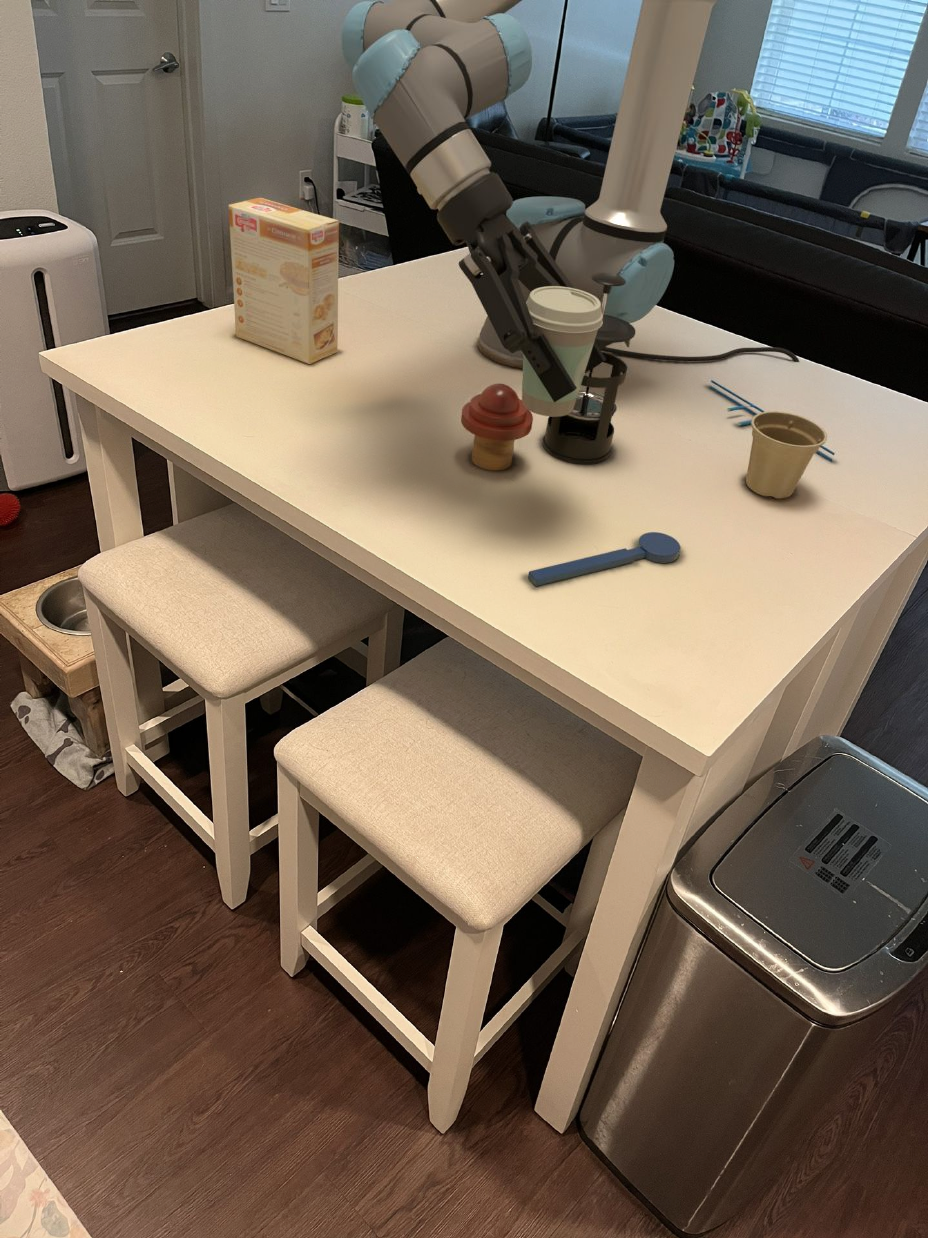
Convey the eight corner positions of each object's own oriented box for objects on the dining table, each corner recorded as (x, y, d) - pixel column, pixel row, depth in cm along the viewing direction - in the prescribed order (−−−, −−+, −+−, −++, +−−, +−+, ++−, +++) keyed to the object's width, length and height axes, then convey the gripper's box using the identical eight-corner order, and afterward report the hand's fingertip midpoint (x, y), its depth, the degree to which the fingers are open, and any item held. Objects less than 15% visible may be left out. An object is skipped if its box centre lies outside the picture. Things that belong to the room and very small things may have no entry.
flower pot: (793, 514, 117) (816, 453, 111) (722, 489, 120) (741, 428, 115) (813, 485, 123) (835, 427, 118) (745, 462, 127) (764, 404, 121)
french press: (628, 459, 124) (668, 287, 110) (572, 472, 120) (605, 295, 105) (576, 420, 131) (607, 255, 117) (522, 431, 127) (547, 261, 113)
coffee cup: (581, 428, 99) (602, 319, 92) (503, 414, 100) (518, 305, 93) (589, 396, 106) (609, 292, 99) (516, 382, 107) (531, 278, 99)
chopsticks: (810, 457, 126) (835, 452, 128) (687, 382, 142) (712, 379, 144) (806, 467, 127) (831, 461, 129) (685, 391, 143) (709, 387, 145)
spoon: (661, 536, 110) (663, 528, 109) (686, 558, 106) (689, 550, 106) (520, 569, 101) (521, 561, 101) (543, 594, 98) (544, 586, 97)
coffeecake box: (339, 352, 142) (341, 219, 130) (309, 365, 137) (308, 229, 125) (265, 324, 148) (260, 195, 136) (234, 336, 143) (226, 203, 131)
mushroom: (504, 439, 125) (514, 366, 118) (538, 471, 119) (551, 396, 113) (445, 449, 121) (452, 374, 115) (477, 482, 115) (487, 405, 109)
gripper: (482, 193, 105) (587, 365, 110) (387, 235, 89) (516, 432, 94) (531, 151, 100) (639, 333, 105) (440, 188, 84) (572, 399, 90)
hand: (581, 380), depth 100 cm, fingers closed on coffee cup, 8 cm apart
